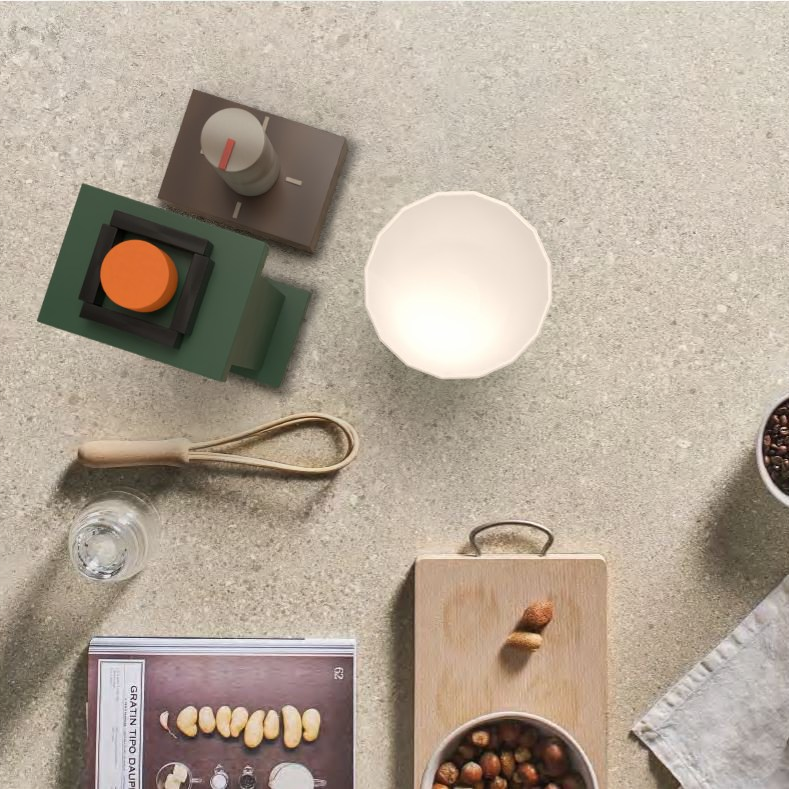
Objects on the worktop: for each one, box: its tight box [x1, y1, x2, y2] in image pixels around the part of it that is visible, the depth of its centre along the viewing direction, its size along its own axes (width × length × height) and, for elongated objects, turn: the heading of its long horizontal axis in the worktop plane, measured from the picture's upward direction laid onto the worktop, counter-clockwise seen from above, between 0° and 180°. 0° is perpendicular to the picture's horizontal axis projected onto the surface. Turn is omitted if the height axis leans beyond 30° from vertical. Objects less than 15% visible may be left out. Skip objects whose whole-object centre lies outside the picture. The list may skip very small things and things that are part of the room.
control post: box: [36, 182, 313, 390], centre depth 66 cm, size 12×9×26 cm
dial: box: [201, 108, 280, 196], centre depth 72 cm, size 5×5×8 cm
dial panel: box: [157, 88, 349, 254], centre depth 77 cm, size 14×10×3 cm
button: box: [100, 240, 178, 312], centre depth 52 cm, size 4×4×2 cm
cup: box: [362, 190, 553, 380], centre depth 71 cm, size 14×14×16 cm
